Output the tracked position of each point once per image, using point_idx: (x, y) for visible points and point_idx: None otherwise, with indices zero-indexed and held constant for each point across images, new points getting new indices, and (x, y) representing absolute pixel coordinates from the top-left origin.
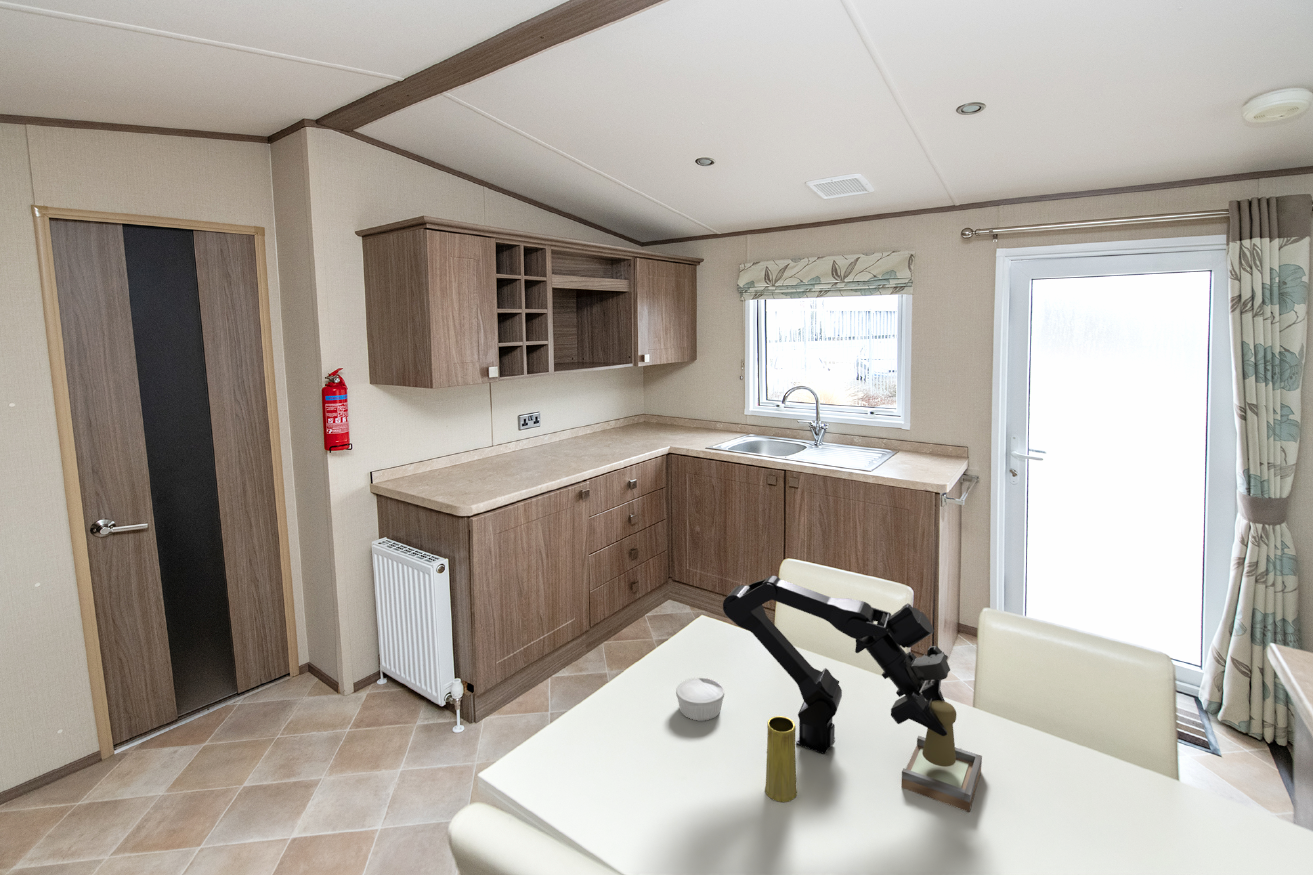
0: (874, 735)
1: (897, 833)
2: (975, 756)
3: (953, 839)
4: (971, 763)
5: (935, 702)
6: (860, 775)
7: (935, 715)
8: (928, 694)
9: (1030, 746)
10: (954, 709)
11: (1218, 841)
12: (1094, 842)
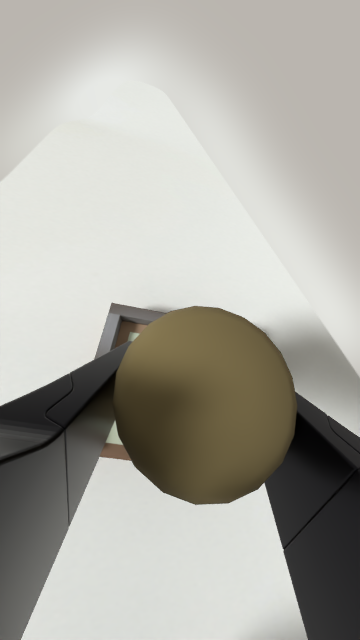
0: None
1: None
2: (118, 315)
3: (304, 361)
4: (124, 327)
5: (201, 450)
6: (232, 585)
7: (326, 428)
8: (32, 544)
9: (12, 235)
10: (204, 308)
11: (159, 122)
12: (214, 209)
